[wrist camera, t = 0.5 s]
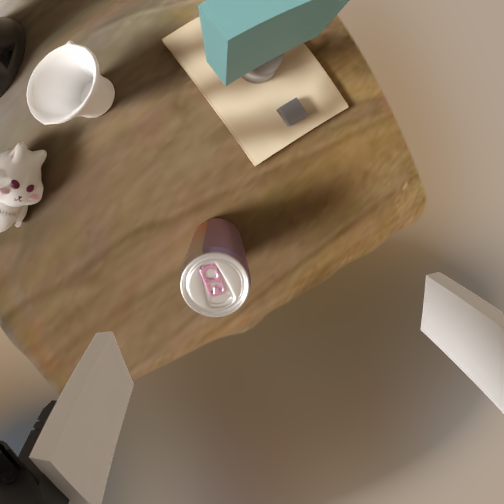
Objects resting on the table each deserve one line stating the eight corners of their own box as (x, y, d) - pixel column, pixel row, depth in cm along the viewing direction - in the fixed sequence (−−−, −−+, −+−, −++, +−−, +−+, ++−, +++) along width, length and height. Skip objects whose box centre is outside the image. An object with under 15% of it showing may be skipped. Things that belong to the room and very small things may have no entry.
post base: (163, 43, 32) (151, 20, 25) (255, -8, 31) (262, -36, 23) (254, 165, 37) (261, 166, 30) (344, 108, 36) (369, 99, 29)
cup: (134, 65, 32) (108, 38, 23) (116, 134, 35) (83, 127, 25) (75, 62, 31) (39, 41, 21) (58, 128, 33) (16, 123, 24)
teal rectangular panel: (206, 64, 27) (197, 4, 14) (297, 16, 26) (337, -51, 13) (226, 90, 28) (228, 41, 15) (316, 40, 27) (367, -18, 14)
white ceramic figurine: (-39, 246, 27) (2, 156, 24) (-42, 201, 29) (0, 116, 26) (16, 251, 36) (65, 176, 33) (7, 210, 38) (54, 137, 35)
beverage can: (232, 210, 39) (238, 240, 24) (247, 254, 40) (261, 306, 26) (186, 226, 39) (166, 264, 24) (203, 269, 41) (194, 327, 26)
